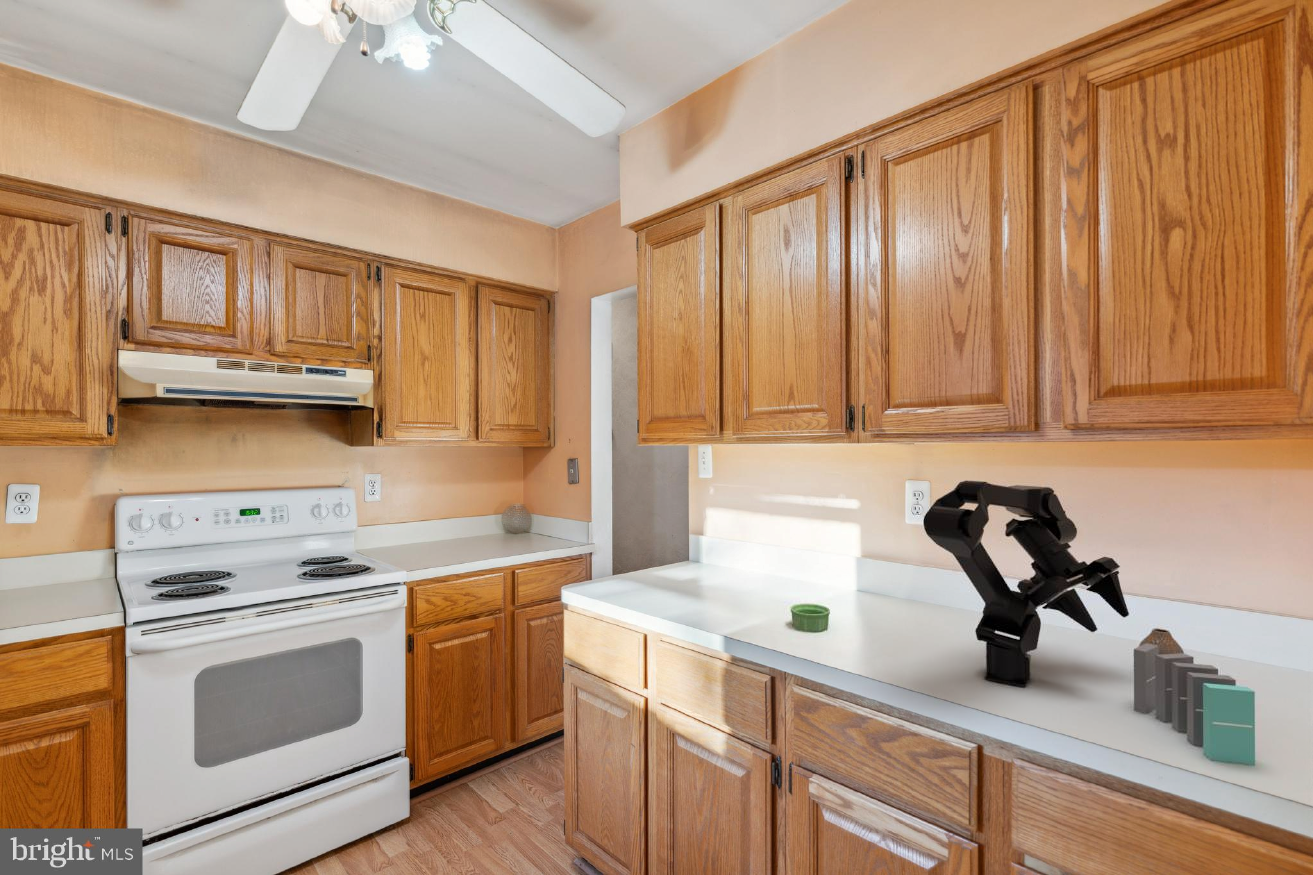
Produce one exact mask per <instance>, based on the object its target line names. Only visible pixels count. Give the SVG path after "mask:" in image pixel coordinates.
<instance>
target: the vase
mask: <svg viewBox="0 0 1313 875" xmlns="http://www.w3.org/2000/svg"><path fill="white" fill-rule="evenodd" d="M1146 643H1148V644H1152V645H1157V646H1158V649H1159V655H1163V654H1179V653H1184V654H1185V652H1184V649H1183V648H1182V646H1181V645H1180V644H1179V642H1178V641H1177V640H1176V639H1175V638H1174V637H1173V636H1172V634H1171V631H1169V630H1168V629H1167V630H1166V629H1162V628H1157V627H1156V628H1152V630H1151V632H1150V633H1149V634H1148V635H1146V637H1144V638H1143V639H1142V640H1141V642H1140V643H1139V645H1138V647H1139V646H1141V645H1144V644H1146Z"/></svg>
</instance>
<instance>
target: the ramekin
mask: <svg viewBox="0 0 1313 875" xmlns="http://www.w3.org/2000/svg"><path fill="white" fill-rule="evenodd" d="M790 613H791V621H792V626H793V628H794V629H796V630H798V631H800V632H801V631H802V632H807V633H821V632H824V631H827V630H828V628H829V620H830V619H829V618H830V614H831V610H830V608H829V607H827V606H825V605H821V604H816V603H798V604H794V605H792V606H791V607H790Z"/></svg>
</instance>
